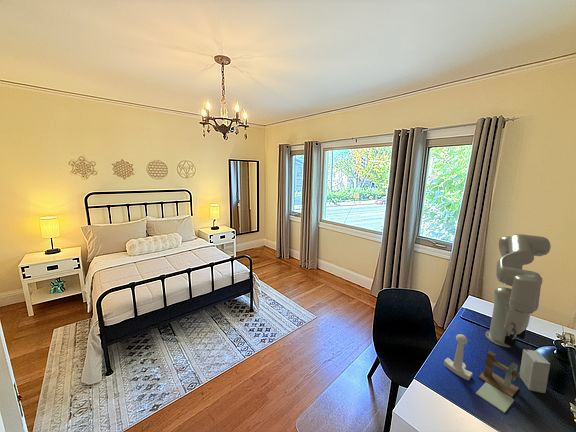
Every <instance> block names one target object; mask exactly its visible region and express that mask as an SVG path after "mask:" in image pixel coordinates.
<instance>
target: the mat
mask: <svg viewBox="0 0 576 432" xmlns="http://www.w3.org/2000/svg"><path fill="white" fill-rule="evenodd" d="M475 395H477V396H478V397H480V399H481V398H482V399H483V400H484V401H485V402H487V403H488V404H490V405H491V406H493V407H494V408H496V409H497V410H499V411H500V412H502V413H503V414H505V413H506V412H507V411H508V410H509V409H510V407H511V406H512V404H513V403H514V402H515V399H514V398H513V397H512V398H511V397H509V396H508V395H506V394H504V393H503V392H501V391H500V390H498V389H496V388H495V387H493V386H492V385H490V384H488V383H487V382H485V381H484V383H483V385H481V387H480V388H479V389H478V390H477V391H476V392H475Z"/></svg>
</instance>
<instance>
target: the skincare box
mask: <svg viewBox="0 0 576 432" xmlns="http://www.w3.org/2000/svg"><path fill="white" fill-rule="evenodd" d="M550 369H551V363H550V362H549V361H548V360H547V358H545V357H544V356H543V355H542V354H541V352H539V351H538V350H531V349H525V348H524V349H523V350H522V356H521V363H520V368H519V372H518V373H519V374H520V377H519V378H520V380H521V381H522V382H523V383H524V384H525V386H526V387H527V389H528V390H529V391H532V392H536V393H541V394H546V393H547V392H546V391H547V386H548V380H549V374H550Z"/></svg>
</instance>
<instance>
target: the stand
mask: <svg viewBox="0 0 576 432" xmlns="http://www.w3.org/2000/svg"><path fill="white" fill-rule="evenodd" d="M496 356H497V353H495V352H493V351H491V350H489V351H488V352H487V353H486V359H485V366H484V369H483V370H484V371H482V373H481V374H480V375H479V376H478V379H480V380H481V381H483V382H484V383H485V382H487V383H488V384H490V385H492V386H493V387H495V388H496V389H498V390H500V391H501V392H503V393H504V394H506V395H508V396H509V397H511V398H513V397H514V395H515V394H516V393H517V392H518V391H519V389H520V388H519V387H518V386H516V384H513V383H512V382H511V385H510V386H509V387H508V386H506V385H504V379H505V378H503V377H501V376H500V375H498V374H496V373H494V366H495V367H498V368H499V369H501V370H502V371H505V372H506V369H507V368H508V367H509V366H506V365H504V364H503V363H501V362H499V361H498V360H496ZM519 373H520V372H518V371H517V372H516V371H515V372H514V373H513V376H515V378H517V379H519V378H520V374H519Z"/></svg>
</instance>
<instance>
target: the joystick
mask: <svg viewBox="0 0 576 432" xmlns="http://www.w3.org/2000/svg"><path fill="white" fill-rule="evenodd" d="M455 339H456V342H457V346H456V349H455V355H454V359H453V360H452V359H450V358H449V357H446V358H445V359H444V360H443V365H444V366H445V367H446V368H447V369H448V370H449V371H451V372H452V373H454V374H456V375H457V376H459V377H460V378H463V379H464V380H466V381H470V380H471V378H472V377H473V372H472V371H470V370H468V369H467V365H466V363H465V362H463V361H464V350H465V349H464V347H465V345H467V344H468V338H467V337H466V335H464V334H462V333H461V334H459V333H458V334H457V335H456V336H455Z"/></svg>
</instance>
